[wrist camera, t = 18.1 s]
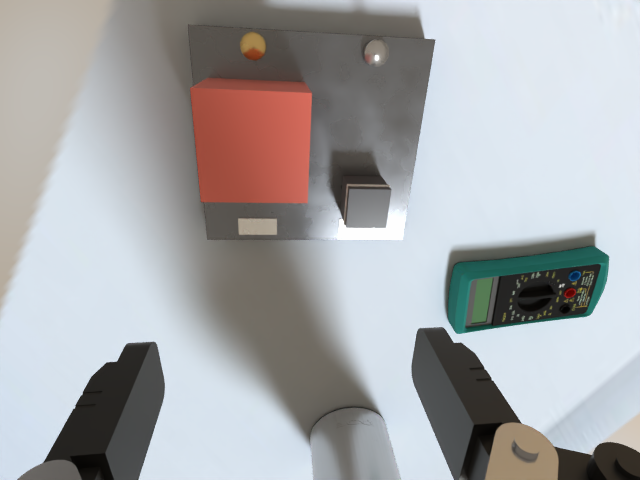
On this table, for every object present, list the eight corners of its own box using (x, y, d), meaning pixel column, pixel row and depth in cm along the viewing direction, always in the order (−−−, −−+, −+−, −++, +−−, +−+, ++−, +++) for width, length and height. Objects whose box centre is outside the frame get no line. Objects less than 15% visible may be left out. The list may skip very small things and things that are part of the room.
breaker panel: (395, 229, 35) (404, 242, 32) (211, 228, 33) (206, 243, 30) (425, 39, 28) (438, 39, 25) (194, 25, 26) (185, 24, 24)
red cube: (302, 173, 29) (307, 203, 24) (214, 171, 29) (200, 202, 23) (304, 82, 26) (312, 92, 21) (207, 77, 26) (189, 87, 20)
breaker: (377, 212, 31) (386, 228, 29) (339, 212, 31) (345, 228, 28) (382, 175, 30) (392, 189, 27) (342, 174, 30) (348, 188, 27)
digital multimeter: (580, 302, 41) (600, 320, 39) (444, 320, 41) (455, 339, 38) (597, 241, 38) (621, 256, 35) (449, 259, 37) (462, 276, 35)
